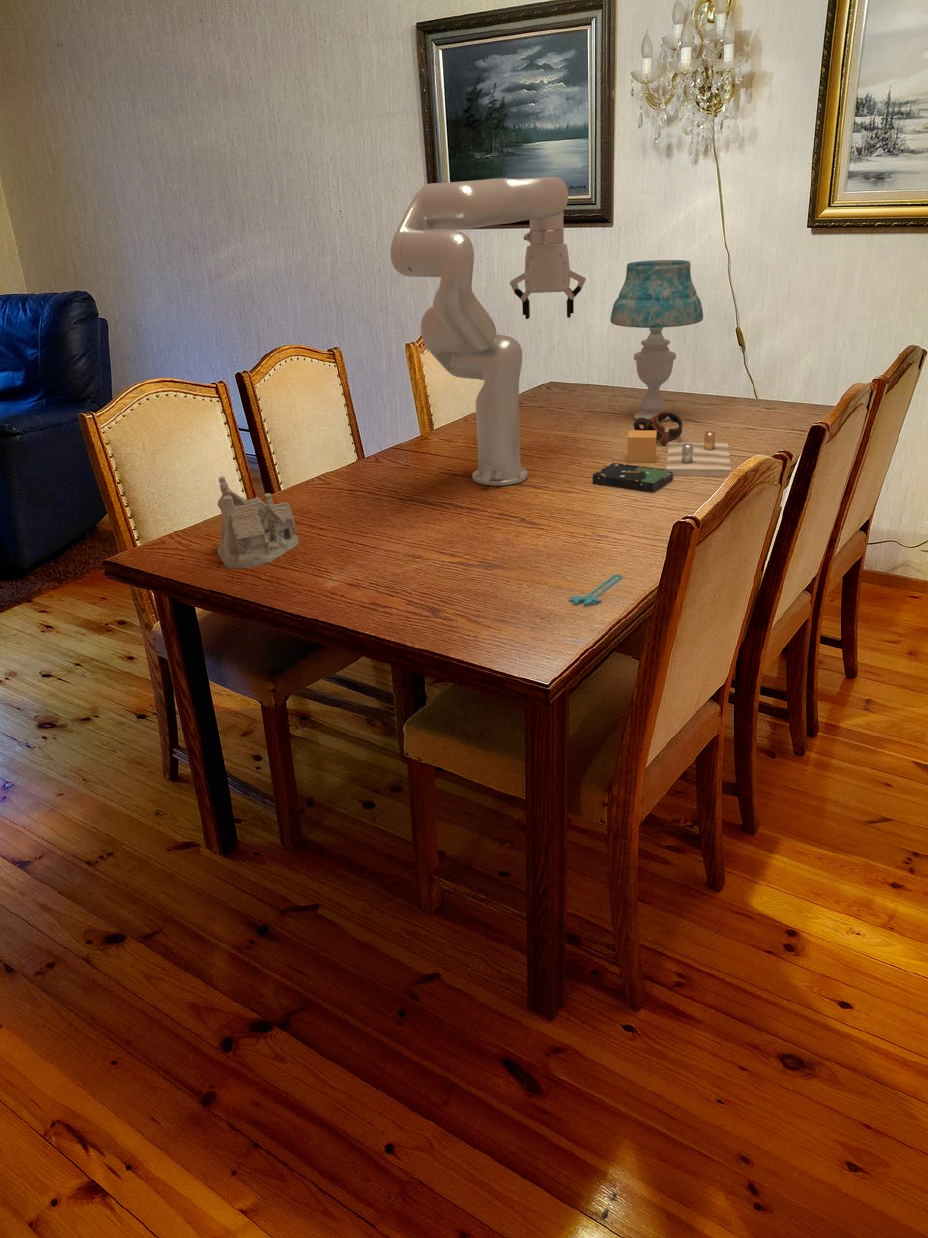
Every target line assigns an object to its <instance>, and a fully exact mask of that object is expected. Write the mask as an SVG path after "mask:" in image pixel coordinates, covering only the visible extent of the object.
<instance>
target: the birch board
mask: <svg viewBox="0 0 928 1238" xmlns="http://www.w3.org/2000/svg"><path fill="white" fill-rule="evenodd" d="M667 444H668V446H667V456H666V469H665V470H668V471H672V473H673V477H675V476H676V477H679V476H680V477H682V476H683V477H724V478H725V477H727V476H728V475H729V474H730V473H731V474H732V465H731V455H730V448H729V443H727V442H715V449H714V450H712V451H707V450H704V442H668V443H667ZM683 444H693V445H694V446H693V462H692V463H690V464H684V463H682V447H683Z"/></svg>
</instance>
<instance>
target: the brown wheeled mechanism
mask: <svg viewBox="0 0 928 1238" xmlns="http://www.w3.org/2000/svg"><path fill="white" fill-rule="evenodd" d="M661 411H662V412H658V413H657V414H656V415H655V416H653V417H652V418H650V419H645V418H638V419H637V420H636V419H635V421H634V422H633V428H634V429H633V430H657V436H660V437H661V439H660V440H659V444H660V445H661V446H666V445H667V444H669V443H671V442H672V441H675V440H677V439H678V438H680V437H681V434H682V433H683V424H684V423H683V420H682V419H681V418H680V417H679V415H677V414H676V413H674V412H671V411H666V410H661ZM667 417H669V418H670V419H669V420H670V421H671V422H673V423H677V424H678V427H676V428H675V427H674V428H668V431H666V426H664V425H663V424H662V422H661V421H662V420H665V419H666V418H667ZM641 425H642V426H643V428H641Z"/></svg>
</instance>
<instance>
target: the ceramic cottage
mask: <svg viewBox="0 0 928 1238" xmlns="http://www.w3.org/2000/svg"><path fill="white" fill-rule="evenodd" d="M218 482H219V488H220V489H219V490H220V492H221V496H220V498H218V501H217V506H218V508H219V510H220V513H221V517H222V522H221V528H220V534H221V535H220V536H221V541H220V542H219V544H218V545H217V555H218V557H219V558H220V559H221V560H220V561H221V562H222V564H223V565H224V566H225V567H226V568H229V569H236V570H239V569H249V568H250V569H251V568H256V567H259V566H263V565H264V564H268V563H269V564H270V563H271V562H273V561H275V560H276V559H278V558H280V557H281V556H283V555H284V554H286V552H288V551H290V550H291V549H293V548H295V547H297V545H299V543H300V540H299V537H298V536H297V535H296V533H295V531H296V522H295V517H294V515H293V511H292V509H291V506H290V503H289V502H286V501H285V502H280V503H274V501H273V496H272V494H271V493H268V492H267V493H265V494H264V501H263V500H261V498H259V497H257V496H256V497H255V498H251V499H247V500H245V498H244V497H243V496H240V495H239V494H238V493H236V492H234V491H233V490H231V488H230V487H229V485H228V482H227V480H226V478H225V476H224V475H223V476H219V477H218Z"/></svg>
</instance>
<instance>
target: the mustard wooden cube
mask: <svg viewBox="0 0 928 1238" xmlns="http://www.w3.org/2000/svg"><path fill="white" fill-rule="evenodd" d="M657 436H658V435H657V430H635V429H632V430H631V429H630V430H629V431H628V435H627V452H626V453H627V454H626V463H627V464H628V463H629V464H630V463H635V464H636V463H638V464H639V463H640V464H643V463H646V464H647V463H648V464H649V463H650V464H651V463H652V464H655V463H656V456H657V455H656V454H657V439H658V438H657Z"/></svg>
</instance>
